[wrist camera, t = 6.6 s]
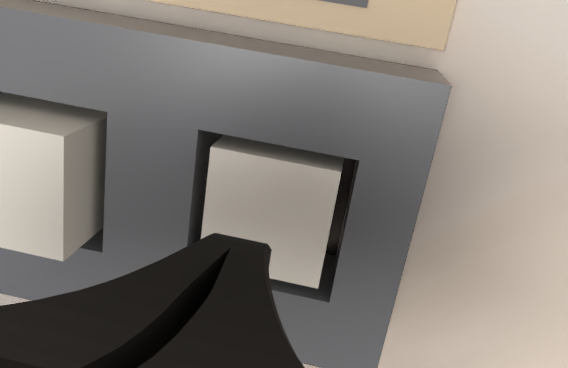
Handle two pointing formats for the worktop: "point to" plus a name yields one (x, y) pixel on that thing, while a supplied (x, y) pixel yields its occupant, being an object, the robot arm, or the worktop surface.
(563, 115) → the worktop surface
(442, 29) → the pattern card
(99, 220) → the button middle
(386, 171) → the button board
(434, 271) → the worktop surface
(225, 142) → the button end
